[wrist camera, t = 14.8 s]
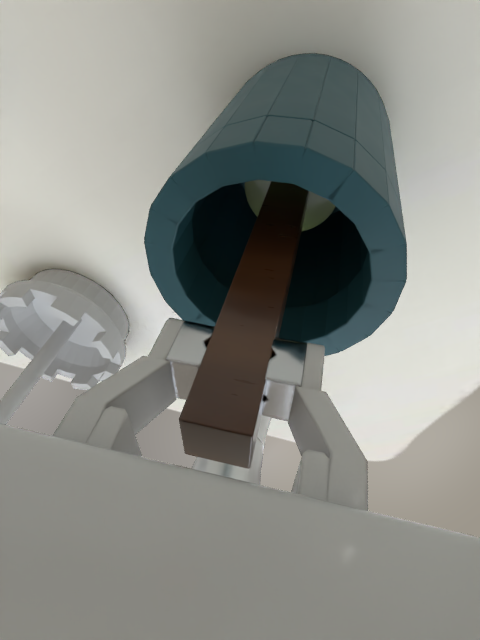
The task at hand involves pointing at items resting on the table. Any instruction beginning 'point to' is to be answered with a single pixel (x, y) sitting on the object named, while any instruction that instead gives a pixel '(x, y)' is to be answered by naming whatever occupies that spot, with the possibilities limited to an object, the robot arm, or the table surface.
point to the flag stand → (60, 332)
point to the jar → (304, 171)
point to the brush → (248, 327)
